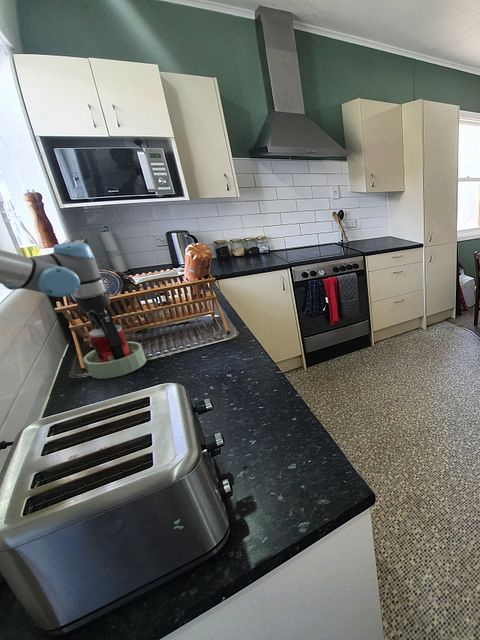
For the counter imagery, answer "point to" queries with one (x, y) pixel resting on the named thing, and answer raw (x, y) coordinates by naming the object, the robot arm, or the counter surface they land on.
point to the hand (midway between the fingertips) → (116, 359)
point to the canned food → (106, 344)
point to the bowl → (115, 363)
